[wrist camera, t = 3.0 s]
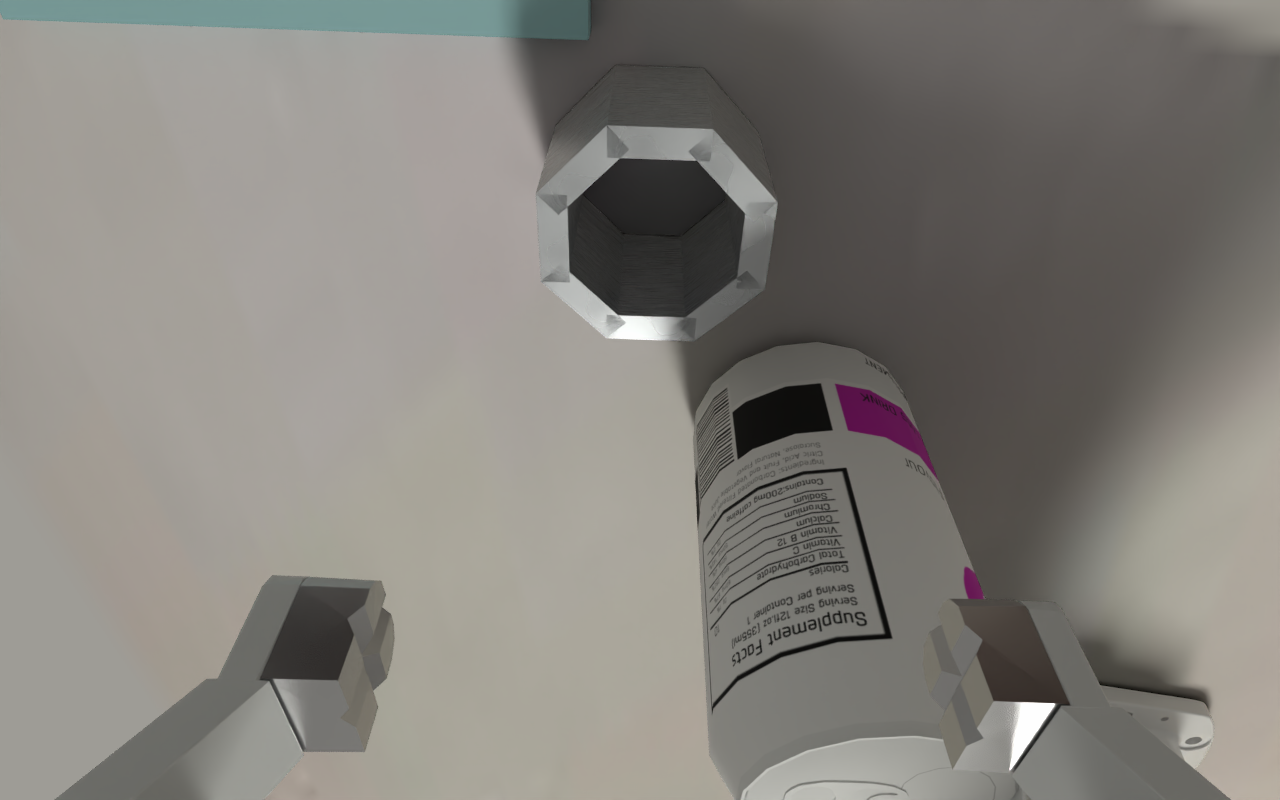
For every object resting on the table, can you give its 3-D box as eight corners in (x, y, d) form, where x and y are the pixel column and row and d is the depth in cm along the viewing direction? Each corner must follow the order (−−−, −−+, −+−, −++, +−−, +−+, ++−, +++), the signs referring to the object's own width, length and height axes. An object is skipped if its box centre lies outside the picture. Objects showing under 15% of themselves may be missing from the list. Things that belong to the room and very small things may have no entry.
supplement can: (925, 334, 28) (1112, 727, 17) (874, 493, 34) (989, 879, 22) (702, 325, 28) (733, 713, 17) (686, 486, 33) (700, 868, 22)
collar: (766, 70, 23) (788, 131, 19) (742, 260, 27) (756, 343, 23) (553, 62, 23) (531, 122, 19) (561, 253, 27) (544, 336, 23)
